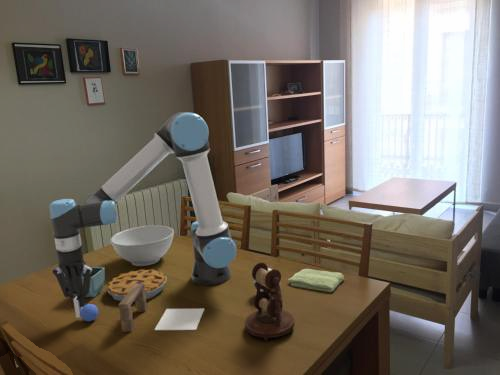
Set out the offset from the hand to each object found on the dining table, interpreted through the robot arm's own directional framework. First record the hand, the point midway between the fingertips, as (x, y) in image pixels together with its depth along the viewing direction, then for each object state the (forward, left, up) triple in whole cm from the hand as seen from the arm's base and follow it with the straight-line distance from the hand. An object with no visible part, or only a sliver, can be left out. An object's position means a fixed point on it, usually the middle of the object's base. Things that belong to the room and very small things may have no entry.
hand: (80, 315), depth 144 cm
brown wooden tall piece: (-63, +6, -2) cm, 63 cm away
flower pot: (+5, -19, -2) cm, 20 cm away
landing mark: (-34, 0, -2) cm, 34 cm away
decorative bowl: (-5, -51, -2) cm, 51 cm away
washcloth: (-78, -25, -2) cm, 82 cm away
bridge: (-19, 0, -2) cm, 19 cm away
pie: (-12, -22, -2) cm, 25 cm away
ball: (-3, 0, +1) cm, 4 cm away
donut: (-61, -16, -2) cm, 63 cm away
